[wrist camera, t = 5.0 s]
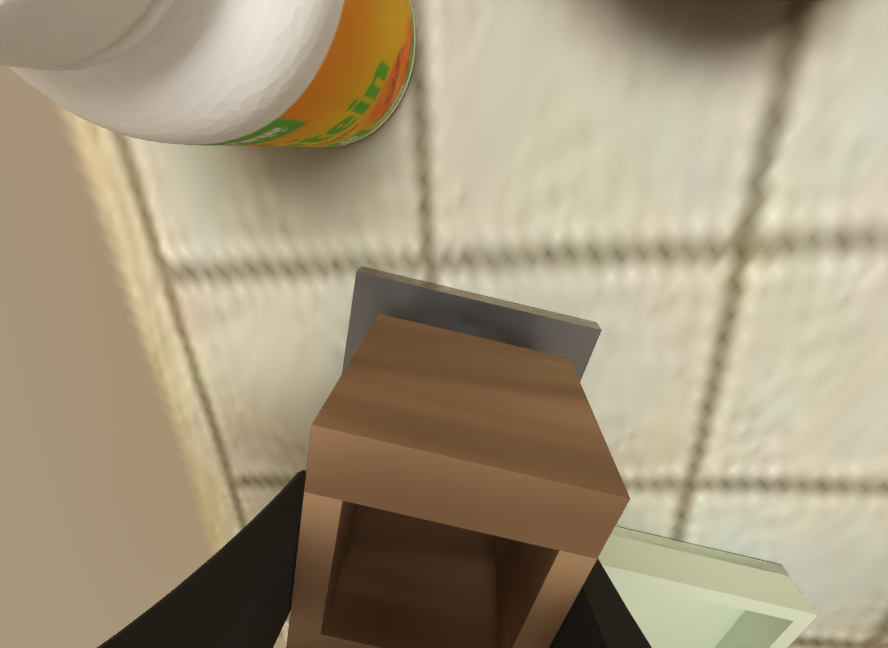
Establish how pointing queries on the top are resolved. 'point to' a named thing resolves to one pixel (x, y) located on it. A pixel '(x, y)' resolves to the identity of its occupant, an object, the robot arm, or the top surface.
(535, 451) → the brown wooden box
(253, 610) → the robot arm
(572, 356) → the light stand
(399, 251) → the top surface
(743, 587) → the tray
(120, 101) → the supplement bottle
